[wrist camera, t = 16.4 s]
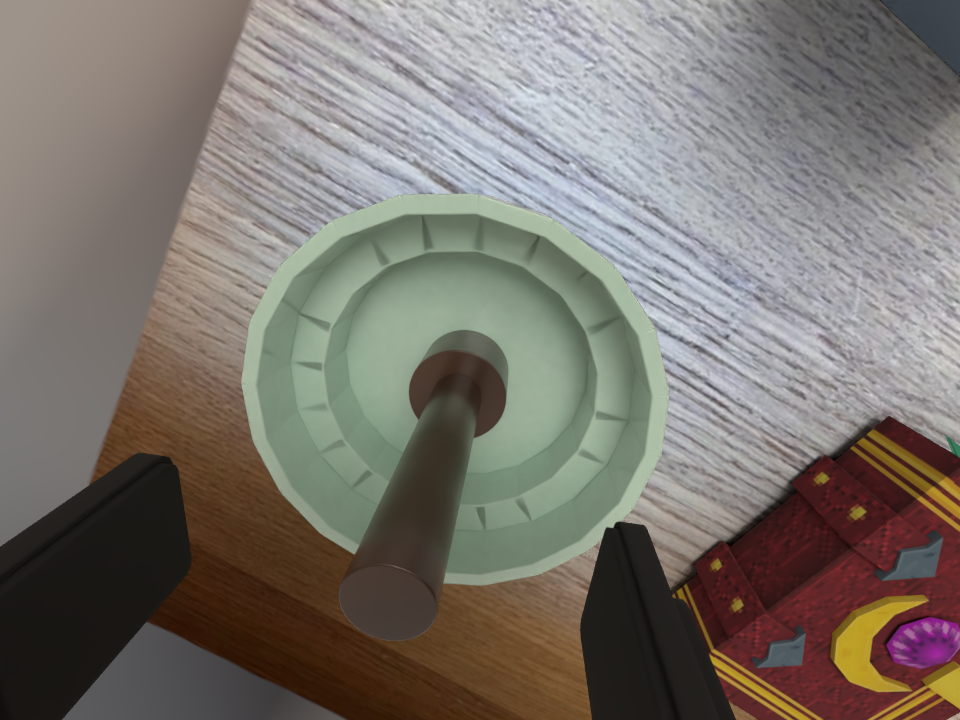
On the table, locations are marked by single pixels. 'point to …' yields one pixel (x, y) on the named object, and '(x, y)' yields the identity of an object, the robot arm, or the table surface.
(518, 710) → the table surface
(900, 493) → the decorative book
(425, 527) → the brown wooden handle
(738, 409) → the table surface
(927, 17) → the stand
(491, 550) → the bowl
